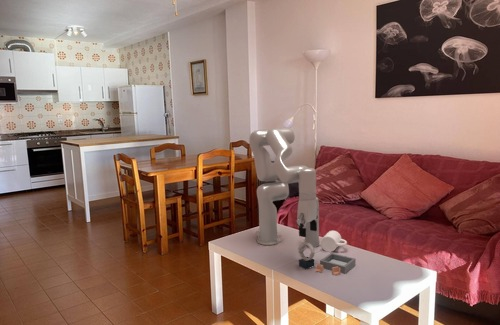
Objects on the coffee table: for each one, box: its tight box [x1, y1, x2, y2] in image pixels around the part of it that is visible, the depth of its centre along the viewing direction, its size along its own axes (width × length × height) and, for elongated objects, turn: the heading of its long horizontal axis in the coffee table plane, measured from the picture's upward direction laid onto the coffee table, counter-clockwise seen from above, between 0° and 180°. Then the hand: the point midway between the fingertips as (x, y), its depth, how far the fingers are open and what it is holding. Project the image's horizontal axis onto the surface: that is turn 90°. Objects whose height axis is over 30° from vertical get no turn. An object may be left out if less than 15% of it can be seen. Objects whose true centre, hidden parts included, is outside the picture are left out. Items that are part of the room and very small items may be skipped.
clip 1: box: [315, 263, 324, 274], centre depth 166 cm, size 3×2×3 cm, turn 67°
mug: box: [320, 230, 348, 253], centre depth 191 cm, size 12×10×8 cm
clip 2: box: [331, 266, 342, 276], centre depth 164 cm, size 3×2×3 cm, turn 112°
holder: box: [319, 252, 356, 274], centre depth 172 cm, size 12×11×3 cm
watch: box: [297, 241, 316, 270], centre depth 172 cm, size 6×8×11 cm
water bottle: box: [302, 196, 320, 248], centre depth 196 cm, size 9×8×25 cm
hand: (308, 233), depth 170 cm, fingers open, 9 cm apart
